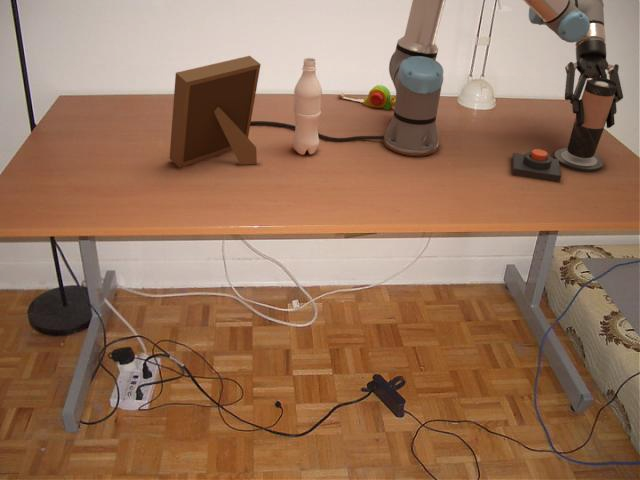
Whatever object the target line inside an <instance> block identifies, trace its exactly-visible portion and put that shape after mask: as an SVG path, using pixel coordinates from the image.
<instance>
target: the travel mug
mask: <svg viewBox="0 0 640 480" xmlns="http://www.w3.org/2000/svg"><path fill="white" fill-rule="evenodd" d="M600 77H601V76H600ZM600 77H594V78H593V79H592V78H590V79H586V82H585V85H584V88H583V91H582V92H583V93H582V94H581V99H583V112H584V123H583V124H582V125H581V126H580V127H577V124H576V117H575V119H574V123H573V125H572V130H571V133H570V138H569V141H568V145H567V148H568V149H567V150H568V152H569V153H570V154H572V155H574V156H577V157H581V158H591V157H593V156H594V154H595V155H596V151H597V149H598V146H599V143H600V140H601V138H602V135H603V132H604V129H605V126H606V120H607V117H608V114H609V111H610V108H611V105H612V101H613V98H614V95H615V92H616V89H617V83H616V82H614V81H612V80H610V79H609V78H607V79H606V78H600Z"/></svg>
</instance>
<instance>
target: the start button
mask: <svg viewBox="0 0 640 480" xmlns="http://www.w3.org/2000/svg"><path fill="white" fill-rule="evenodd" d="M531 151H532V153H531V158H532V159H534V160H537V161H545V160H546V158H547V155H548V152H547V151H545V150H543V149H540V148H535V149H532V150H531Z"/></svg>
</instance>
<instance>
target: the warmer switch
mask: <svg viewBox="0 0 640 480" xmlns="http://www.w3.org/2000/svg"><path fill="white" fill-rule="evenodd" d="M531 153H532V150H530V151H527V152H525V153H518V152H513V153H512V157H511V176H515V177H521V178H528V179H535V180H541V181H548V182H552V183H553V182H554V183H560V181H561V178H562V174H561V173H562V172H561V165H560V164H559V160H558V159H554V158H553V157H552V156H550V155H549V154H547V158H546V160H545V161H537V160H534V159H532V158H531Z"/></svg>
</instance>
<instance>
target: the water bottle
mask: <svg viewBox="0 0 640 480" xmlns="http://www.w3.org/2000/svg"><path fill="white" fill-rule="evenodd" d="M316 63H317V61H316V59H315V58H311V57H307V58H306V57H305V58H304V59H303V65H302V68H301V70H302V74H301V75H300V77H299V79H298V80H297V82H296V84H295V87H294V90H293V93H294V99H293V100H294V101H293V113H294V118H295V119H294V121H295V126H296V127H295V129H294V134H293V138H292V140H291V141H292V142H291V143H292V147H293V149H294V151H296V153H298V154H300V155H303V156H304V155H305V154H306V152H308V154H309V155H313V154H315V153H316V151H317V150H318V147H319V144H320V137H318V133H319V132H318V130H319V129H318V124H319V118H320V116H321V115H322V111H321V109H322V95H323V89H322V88H323V87H322V86H321V84H320V81H319V79H318V77H317V74H316V71H317V65H316Z"/></svg>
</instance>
